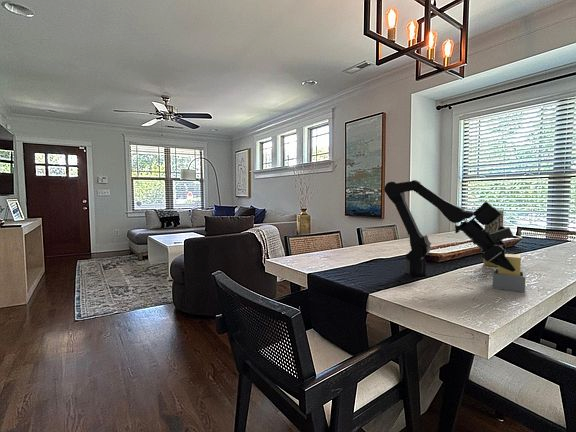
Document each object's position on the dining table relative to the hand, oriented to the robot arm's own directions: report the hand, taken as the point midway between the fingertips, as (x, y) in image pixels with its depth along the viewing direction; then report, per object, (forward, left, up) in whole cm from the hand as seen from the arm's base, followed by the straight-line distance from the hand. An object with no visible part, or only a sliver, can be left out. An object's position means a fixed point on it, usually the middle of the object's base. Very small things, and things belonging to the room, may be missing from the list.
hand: (514, 268), depth 106 cm
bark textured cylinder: (+16, +31, -7) cm, 36 cm away
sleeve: (-1, +1, -7) cm, 7 cm away
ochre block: (-1, +1, -7) cm, 7 cm away
